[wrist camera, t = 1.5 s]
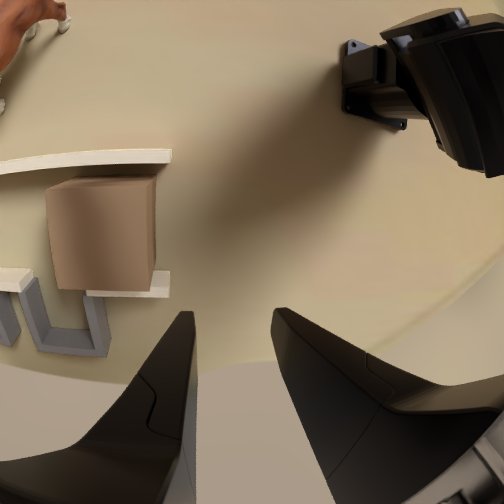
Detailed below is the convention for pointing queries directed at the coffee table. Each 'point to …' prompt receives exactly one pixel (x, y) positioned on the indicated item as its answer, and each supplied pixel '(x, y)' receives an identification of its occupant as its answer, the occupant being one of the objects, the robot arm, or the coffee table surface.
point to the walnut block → (103, 232)
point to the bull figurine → (25, 25)
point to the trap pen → (98, 337)
